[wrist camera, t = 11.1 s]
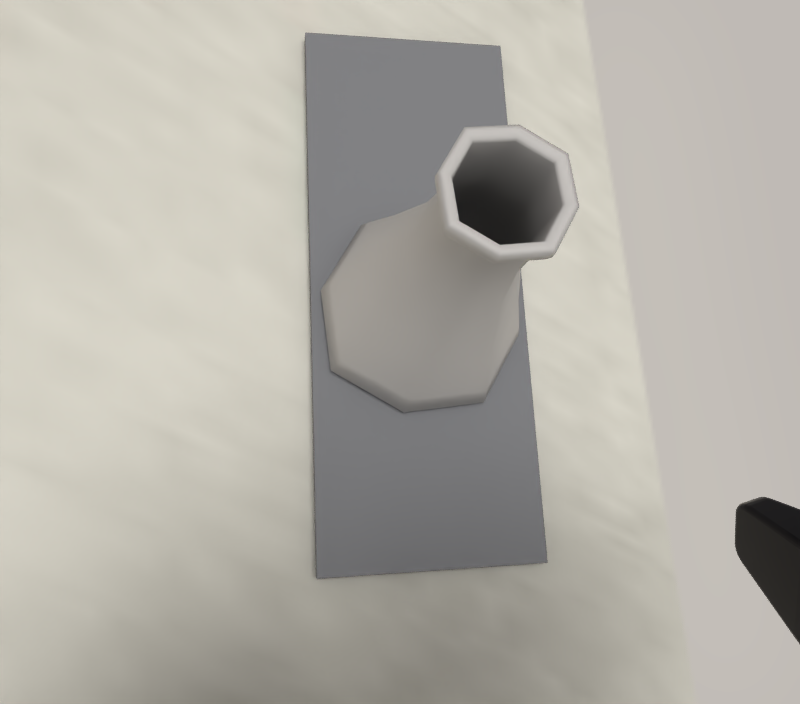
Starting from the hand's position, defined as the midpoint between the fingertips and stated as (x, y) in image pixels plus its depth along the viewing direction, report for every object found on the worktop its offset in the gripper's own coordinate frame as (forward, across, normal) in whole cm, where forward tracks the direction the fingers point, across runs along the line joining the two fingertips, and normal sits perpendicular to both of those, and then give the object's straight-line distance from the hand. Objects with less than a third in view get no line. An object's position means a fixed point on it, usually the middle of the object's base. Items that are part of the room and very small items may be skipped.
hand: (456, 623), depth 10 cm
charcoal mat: (+16, -3, +1) cm, 16 cm away
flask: (+15, -3, +2) cm, 16 cm away
